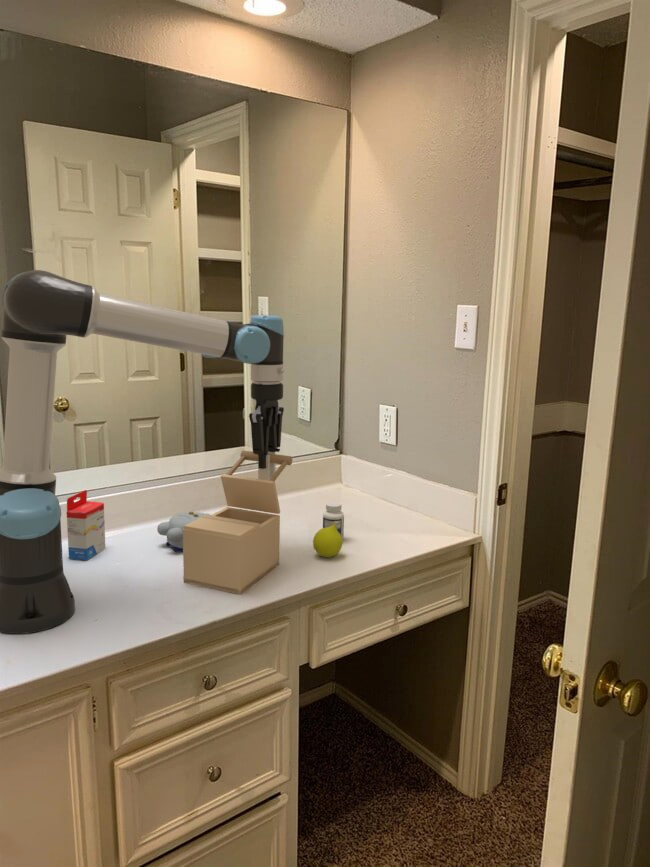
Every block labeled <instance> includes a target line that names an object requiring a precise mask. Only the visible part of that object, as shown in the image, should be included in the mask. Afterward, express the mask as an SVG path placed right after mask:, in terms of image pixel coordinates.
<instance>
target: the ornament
mask: <svg viewBox="0 0 650 867" xmlns="http://www.w3.org/2000/svg"><path fill="white" fill-rule="evenodd" d="M336 524H337V522H336V521H335V522H334V524H333V525H332V526H331V527H326V528H323V527H322V528H320V529H318V531H317V532H316V533H315V534H314V536H313V540H312V545H313V549H314V550H315V552H316V554H318V555H319V556H321V557H324V558H331V557H334V556H337V554H339V553H340V552H341V549H342V548H343V541H342V537H341V535H340V533H339V532H338V531H337V528H336Z"/></svg>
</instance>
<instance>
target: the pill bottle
mask: <svg viewBox="0 0 650 867" xmlns="http://www.w3.org/2000/svg"><path fill="white" fill-rule="evenodd" d="M335 521H336V522H337V524H336V528H337V531H338V532H339V533H340V535H341V537H342V542H343V541H344V526H345V525H344V523H345V514H344V512H343V511H342V503H341V502H337V501H329V502H326V503H325V511H324V512H323V514H322V528H326V527H331V526H332V525H333V524H334V522H335Z"/></svg>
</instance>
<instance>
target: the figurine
mask: <svg viewBox="0 0 650 867" xmlns="http://www.w3.org/2000/svg"><path fill="white" fill-rule="evenodd" d="M204 515H211V514H210V513H204V512H199V511H198V512H194V511H192V510H191V511H190V510H189V511H188V512H183V513H177V514H174V515H173V516H171V517H170V519H169V520H168V521H165V522H161V523H159V524H157V527H156V528H157V529H156V530H157V533H158V535H160V536H166V542H165V546H166V547H171V548H173V549H174V552H176V553H177V552H182V551H183V529H184V526H185V525H187V524H189V523H191V522H193V521H195V520H197V519H199V518H201V517H202V516H204Z"/></svg>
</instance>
